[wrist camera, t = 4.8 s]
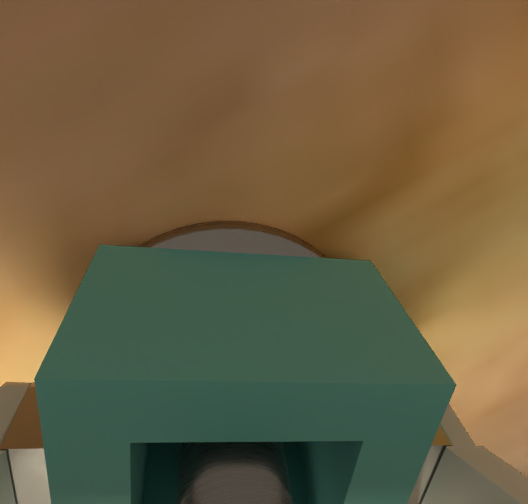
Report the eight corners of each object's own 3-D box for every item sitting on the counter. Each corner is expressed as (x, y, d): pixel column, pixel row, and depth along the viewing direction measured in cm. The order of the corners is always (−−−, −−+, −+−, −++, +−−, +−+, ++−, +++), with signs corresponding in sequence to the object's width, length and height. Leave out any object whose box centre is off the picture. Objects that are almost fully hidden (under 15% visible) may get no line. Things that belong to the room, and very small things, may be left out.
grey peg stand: (385, 231, 11) (538, 409, 6) (330, 439, 14) (398, 669, 9) (75, 210, 9) (-64, 406, 5) (91, 441, 13) (17, 705, 8)
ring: (370, 260, 10) (456, 385, 7) (323, 443, 13) (367, 600, 9) (99, 244, 9) (34, 379, 6) (108, 444, 12) (67, 620, 8)
